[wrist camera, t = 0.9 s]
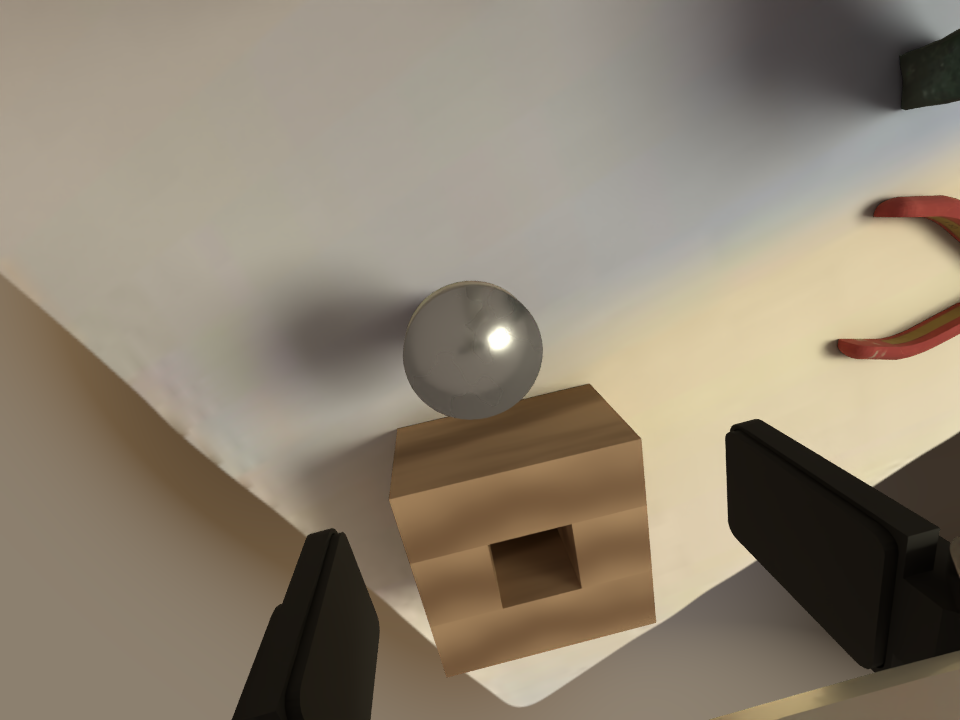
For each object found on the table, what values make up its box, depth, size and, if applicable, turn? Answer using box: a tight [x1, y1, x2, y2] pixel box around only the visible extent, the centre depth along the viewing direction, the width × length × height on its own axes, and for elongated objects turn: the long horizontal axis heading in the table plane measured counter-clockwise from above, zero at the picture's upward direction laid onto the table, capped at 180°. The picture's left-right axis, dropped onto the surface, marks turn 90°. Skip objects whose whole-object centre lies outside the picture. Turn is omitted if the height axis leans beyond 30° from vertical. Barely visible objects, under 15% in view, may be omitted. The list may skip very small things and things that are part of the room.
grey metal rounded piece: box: [403, 281, 543, 420], centre depth 25 cm, size 7×7×9 cm
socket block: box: [389, 384, 656, 677], centre depth 30 cm, size 14×14×8 cm
